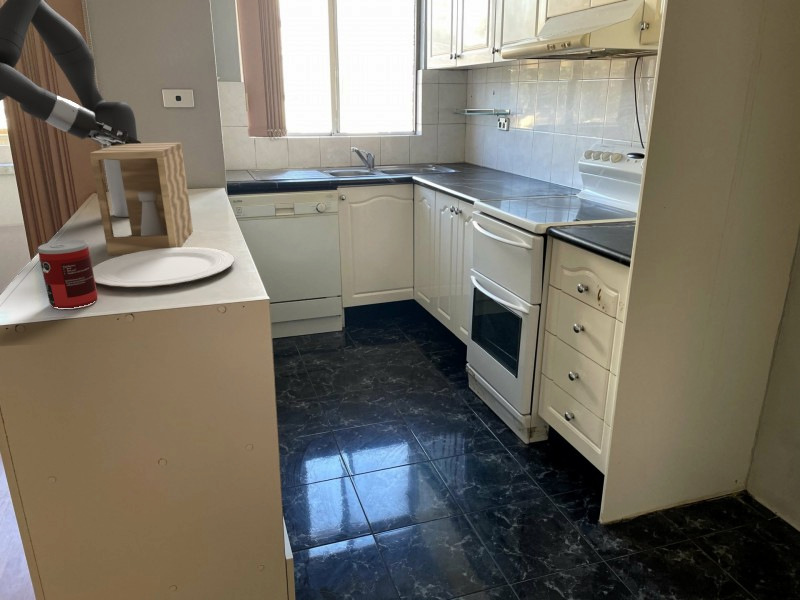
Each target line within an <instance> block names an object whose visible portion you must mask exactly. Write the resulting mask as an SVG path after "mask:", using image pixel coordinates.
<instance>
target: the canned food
mask: <svg viewBox="0 0 800 600" xmlns="http://www.w3.org/2000/svg"><path fill="white" fill-rule="evenodd" d="M37 253H38V257H39V263H40V267H41V271H42V276H43V280H44V284H45V288H46V294H47V298H48V302H49V304H50V306H51V305H52V306H53V307H58V308H74V307H79V306H84V305H88V304H90V303H93V302H94V301H96V300H97V301H98V295H99V294H98V291H97V285H96V283H95V279H94V274H93V269H92V268H93V265H92V258H91V253H90V249H89V244H88V242H87V241H86V240H79V239H64V240H57V241H51V242H45V243H43V244H41V245H39V246H38V247H37ZM97 301H96V302H97ZM52 306H51V307H52ZM53 307H52V308H53Z"/></svg>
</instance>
